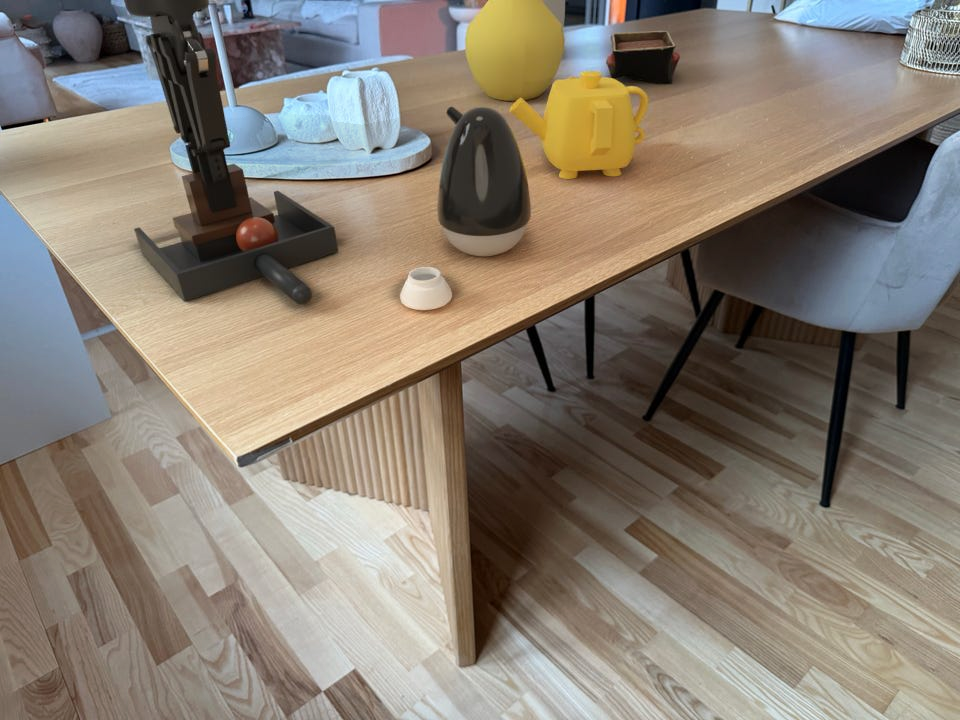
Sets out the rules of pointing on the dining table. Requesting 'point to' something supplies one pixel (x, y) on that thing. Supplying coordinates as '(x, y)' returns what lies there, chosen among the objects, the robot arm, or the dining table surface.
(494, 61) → the vase
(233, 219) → the stepped wooden pedestal
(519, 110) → the teapot
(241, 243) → the bead
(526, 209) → the black soy sauce dispenser
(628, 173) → the dining table surface
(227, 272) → the dustpan
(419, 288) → the white jar
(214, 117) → the robot arm
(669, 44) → the black rectangular planter
